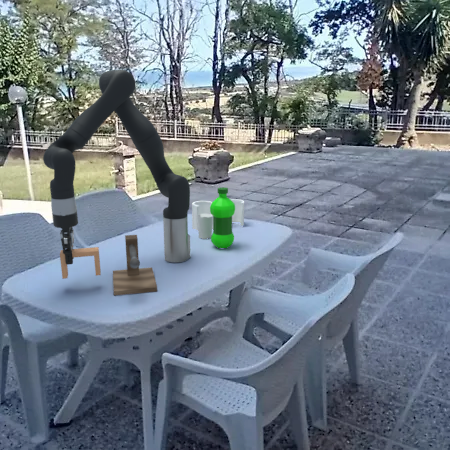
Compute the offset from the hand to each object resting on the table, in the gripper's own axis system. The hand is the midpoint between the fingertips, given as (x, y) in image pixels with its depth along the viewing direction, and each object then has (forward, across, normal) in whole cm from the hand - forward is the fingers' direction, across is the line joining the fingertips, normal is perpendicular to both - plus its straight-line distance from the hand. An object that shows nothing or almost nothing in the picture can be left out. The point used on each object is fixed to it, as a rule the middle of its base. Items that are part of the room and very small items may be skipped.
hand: (69, 261), depth 156 cm
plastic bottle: (+11, -30, +58) cm, 67 cm away
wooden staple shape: (+5, 0, +3) cm, 6 cm away
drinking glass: (+11, -44, +54) cm, 71 cm away
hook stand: (+10, +2, +20) cm, 23 cm away
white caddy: (+11, -59, +63) cm, 87 cm away
